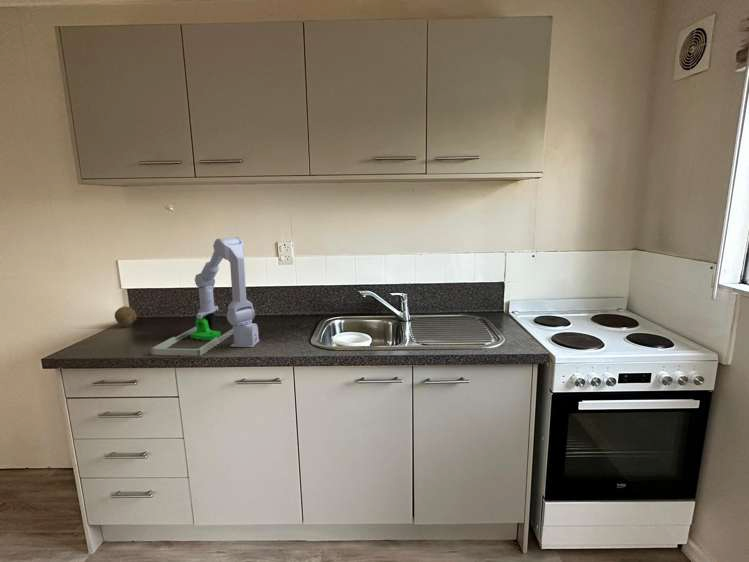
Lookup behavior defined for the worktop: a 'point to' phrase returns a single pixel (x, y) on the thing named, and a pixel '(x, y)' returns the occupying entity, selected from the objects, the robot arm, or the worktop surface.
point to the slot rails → (196, 330)
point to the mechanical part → (204, 331)
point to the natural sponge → (125, 316)
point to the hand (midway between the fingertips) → (209, 329)
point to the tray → (163, 349)
